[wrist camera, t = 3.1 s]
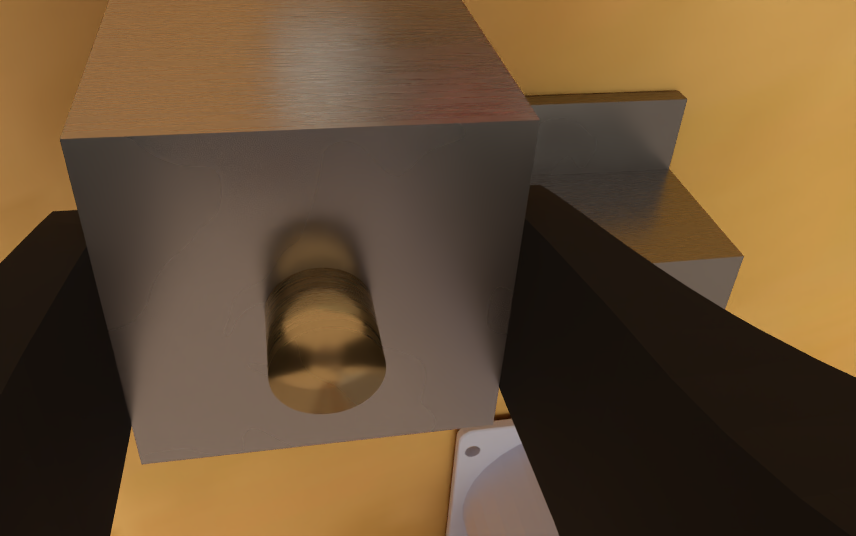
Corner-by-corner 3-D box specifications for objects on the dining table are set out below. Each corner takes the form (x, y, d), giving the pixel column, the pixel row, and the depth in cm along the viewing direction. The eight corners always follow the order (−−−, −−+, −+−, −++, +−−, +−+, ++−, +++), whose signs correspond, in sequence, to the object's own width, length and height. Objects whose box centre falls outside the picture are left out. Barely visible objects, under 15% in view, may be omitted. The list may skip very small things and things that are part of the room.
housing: (423, 218, 15) (513, 485, 10) (168, 234, 14) (133, 533, 9) (439, -35, 12) (573, 170, 7) (121, -33, 11) (38, 197, 6)
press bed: (617, 326, 25) (680, 434, 22) (157, 369, 23) (143, 499, 19) (678, 90, 20) (770, 180, 17) (103, 111, 18) (71, 221, 14)
